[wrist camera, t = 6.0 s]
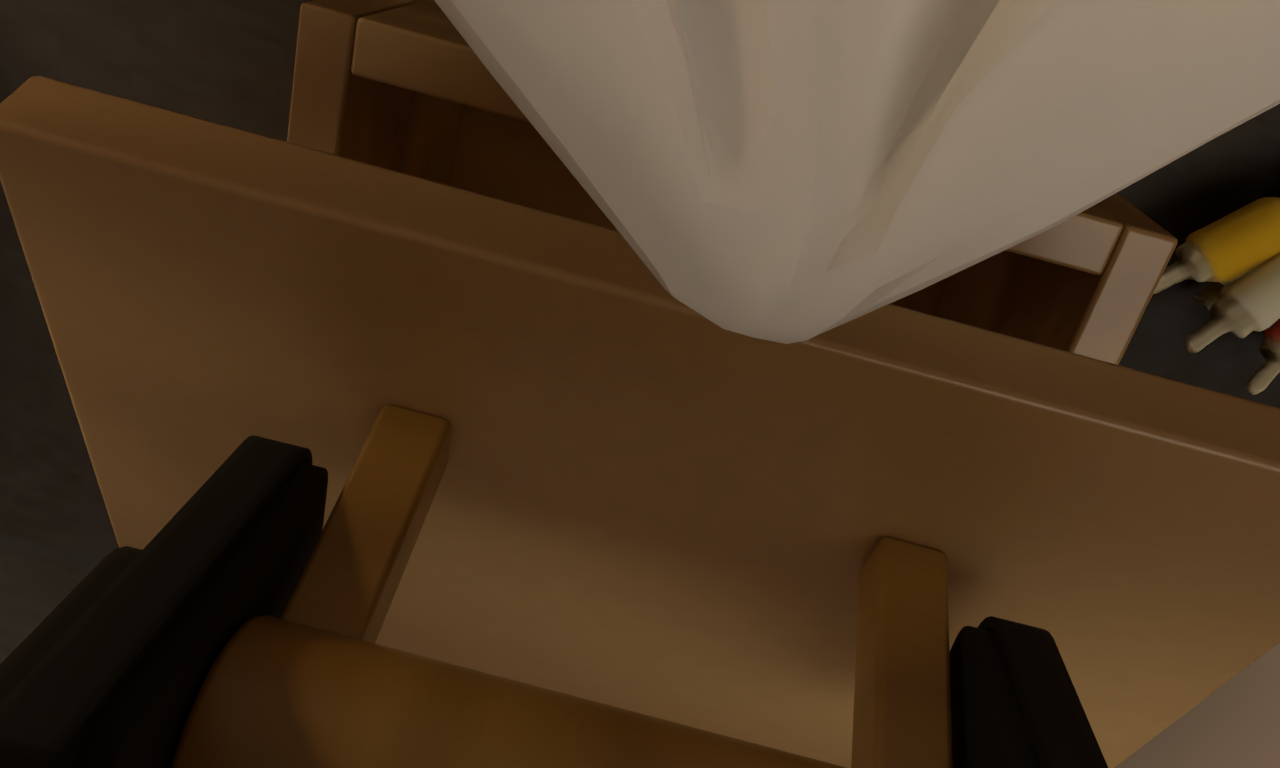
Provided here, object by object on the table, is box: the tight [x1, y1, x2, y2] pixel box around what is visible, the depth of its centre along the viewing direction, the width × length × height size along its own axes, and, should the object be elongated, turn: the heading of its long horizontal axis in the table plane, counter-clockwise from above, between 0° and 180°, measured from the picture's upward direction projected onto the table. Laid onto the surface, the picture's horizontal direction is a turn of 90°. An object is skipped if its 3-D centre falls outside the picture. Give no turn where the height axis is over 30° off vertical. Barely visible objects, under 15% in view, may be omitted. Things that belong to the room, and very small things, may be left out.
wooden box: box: [287, 0, 1177, 365], centre depth 21 cm, size 15×13×8 cm
